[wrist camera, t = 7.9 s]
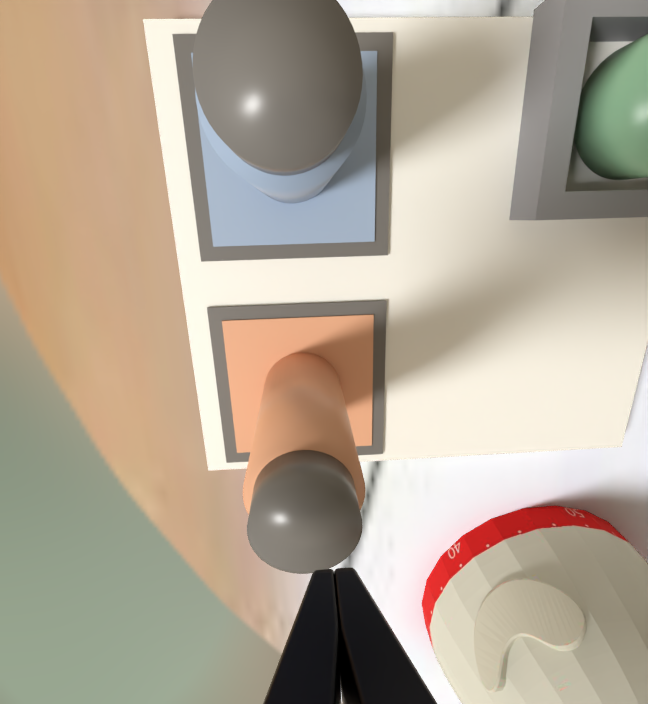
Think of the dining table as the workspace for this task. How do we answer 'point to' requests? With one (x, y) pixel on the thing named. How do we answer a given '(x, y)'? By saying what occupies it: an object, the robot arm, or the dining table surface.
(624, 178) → the button
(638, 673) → the kitchen timer
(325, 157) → the blue bottle
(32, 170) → the dining table surface
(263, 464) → the terracotta marker
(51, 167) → the dining table surface
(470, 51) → the cream board with squares
